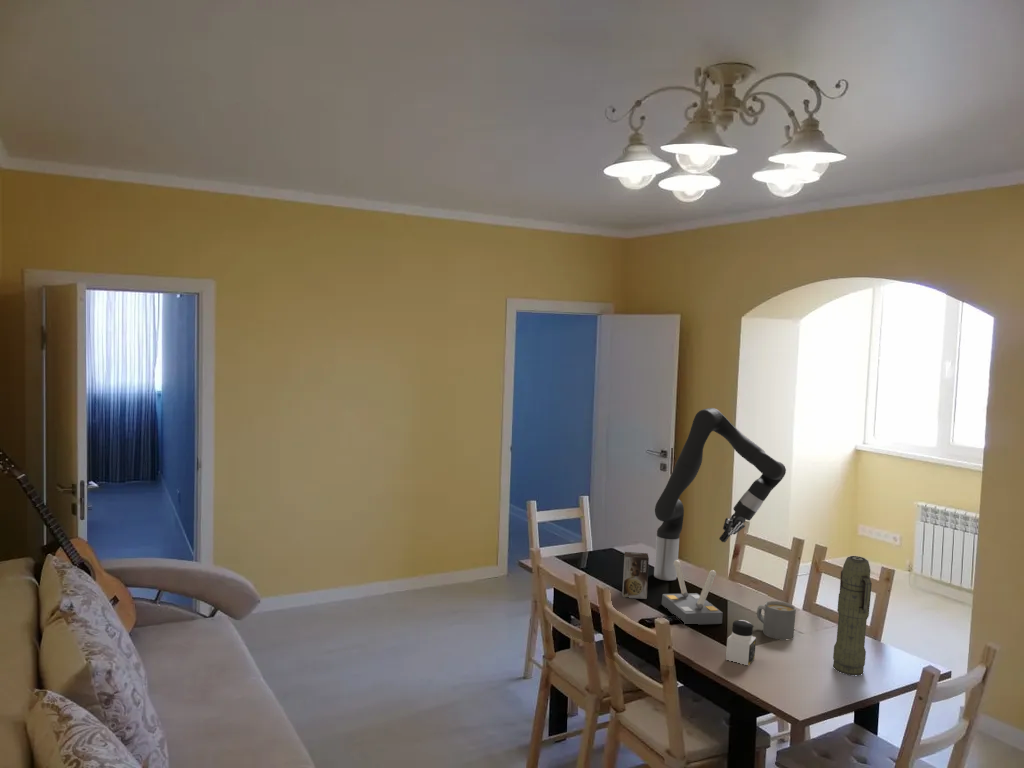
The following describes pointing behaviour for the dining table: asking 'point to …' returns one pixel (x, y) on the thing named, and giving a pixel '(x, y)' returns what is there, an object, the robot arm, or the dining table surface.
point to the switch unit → (691, 609)
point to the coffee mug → (777, 619)
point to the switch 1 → (680, 578)
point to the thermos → (852, 616)
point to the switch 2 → (706, 589)
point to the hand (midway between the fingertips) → (721, 540)
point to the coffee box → (635, 575)
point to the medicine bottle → (741, 643)
